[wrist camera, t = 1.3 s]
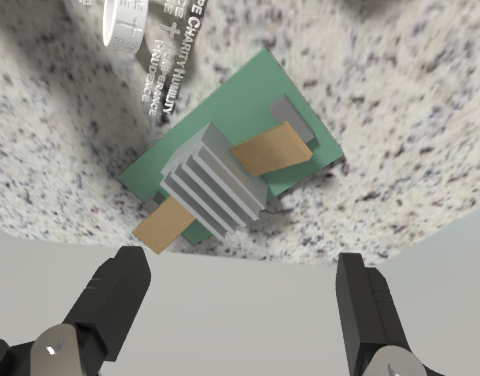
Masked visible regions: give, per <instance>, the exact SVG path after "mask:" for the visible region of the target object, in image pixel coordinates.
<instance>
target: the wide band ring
mask: <svg viewBox="0 0 480 376" xmlns="http://www.w3.org/2000/svg"><path fill="white" fill-rule="evenodd" d="M85 1H86V0H85ZM89 1H90V0H88V3H89V5H90V4H91V6H92V3H90V2H92V0H91V1H90V2H89ZM148 1H149V0H105V6H104V17H103V41H104V45H105V46H106V47H108V48H112V49H115V50H119V51H123V52H127V53H130V54H135V53H137V51H138V50H139V48H140V45H141V43H142V40H143V36H144V32H145V27H146V22H147V15H148ZM174 1H175V0H167V2H170V3H173V2H174ZM200 1H202V2H201V3H200ZM204 1H205V0H198V5H199V6H203V4H204ZM79 2H82V0H81V1H80V0H79ZM88 3H87V5H88ZM83 4H84V5H86V2H85V3H84V1H83ZM178 4H179V6H180V5H181V4H180V0H178ZM185 5H186V0H184V3H183V4H182V7H184V6H185ZM199 6H196V5H194V4H193V8H192V12H194V10H195V8H196V11H195V12H196V13H198V14H201V11H202V8H201V7H199ZM167 7H168V8H167ZM166 8H167V13H169V14H171V12H172V8H173V6H172V5H170V4H167V3H165V7H164V13H165V12H166ZM169 9H170V11H169ZM178 10H179V11H178ZM198 10H199V12H198ZM177 12H178V16H180V17H181V18H182V15H183V12H184V9H182V8H180V7H176V11H175V16H176V15H177ZM180 12H181V14H180ZM192 20H196V21H197V24H196V25H195V28H198V27H199V25H200V21H199V20H198V19H197V18H196V17H191V18H190V19H189V21H188V23H189V25H190V26H191V27H192V24H191V21H192ZM176 25H177V24H176V23H175V22H173V24H172V27H168V26H165V25H162V24H159V26H158V27H159V28H161V29H164V30H167V31H170V35H169V37H170V38H173V37H174V33H176V34H179V35H180V30H177V29H176ZM191 27H188V26H187V29H189V30H190V31H189V32H187V31H186V32H185V33H186V34H188V35H191V36H194V34H193V33H192V31H196V30H195V29H194V28H191ZM186 34H185V36H186V39H185V40H183V43H182V44H183V45H185V46H184V47H181V50H180V52H181V53H184V54H186V56H183V55H179V57H181V58H185V59H184V60H185V61H183V62H177V64H179V65H181V66H182V67H183V68H184V65H183V64H186V61H187V57H188V55H187V54H189V53H188V52H186V51H189V50H190V47H191V45H190V44H187V43H184V42H192V41H193V40H192V39H191V38H190V37H189V36H188V35H186ZM156 43H158V48H159V50H163V48H164V45H165V42H163V41H160V40H157V39H156ZM161 44H162V46H161V47H160V45H161ZM187 46H188V48H187ZM166 47H167V48H169V49H172V53H174V51H175V47H176V44H174V46H169V45H166ZM184 49H185V50H186V51H183V50H184ZM159 50H156V49H154V50H153V51H154V52H156V53H154V54H152V57H155V56H156V57H157V58H159V57H160V53H161V51H159ZM157 54H158V55H157ZM166 54H167V59H168V57H169V60H167V59H164V58H165V57H166ZM171 56H172V54H171V53H170V52H167V51H165V53H164V58H163V61H162V64H163V65H161V67H163V68H161V70H162V74H163V75H164V76H163V75H159V76H158V81H159V80H160V81H161V82H158V81H157V84H159V85H157V86H156V88H155V90H156V93H154V96H153V97H154V98H155V99H153V100H152V102H154V103H152V104H151V108H152V109H150V111H149V115H150V114H152V115H153V113H154V116H155V114H156V109H157V107H158V106H157V104H156V103H159V102H158V101H157V100H159V99H160V97H158V96H157V95H161V91H159V90H158V89H157V88H159V89H162V88H163V85H164V83H162V79H163V82H164V81H165V78H166V77H165V75H166V74H167V69H168V67H169V66H168V65H167V64H169V63H170V59H171ZM157 58H152V59H151V64H152V65H154V66H151V65H150V67H149V71H150V73H148V75H147V80H146V82H147V84H145V87H148V88H145V89H144V94H145V95H144V94H143V96H142V101H143V100H144V97H145V101H146V99H147V102H148V101H149V95H150V93H151V90H150V88H152V86H151V85H152V84H153V82H152V81H154V77H155V75H154V73H155V72H156V69H157V67H155V66H157V63H153V61H159V60H158V59H157ZM151 68H152V69H154V71H151ZM165 68H167V69H165ZM164 71H165V73H164ZM175 72H178V75H176V74H173V76H174V77H177V78H172V83H173V84H170V85H171V86H170V89H169V92H168V93H169V94H168V95H167V99H166V102H170V103H171V104H167V103H165V106H170V109H167V110H166V109H163V111H164V112H167V113H168V114H169V115H170V112H169V111H171V110H172V107H173V103H174V101H172V100H168V99H169V97H173V98H175V95H176V93H177V90H176V89H178V85H179V83H177V82H174V80H176V81H180V79H178V78H181V79H183V76H180V74H181V73H183V74H185V71H183V70H179V69H175ZM151 73H152V74H151ZM149 76H150V80H151V79H152V81H149V80H148V79H149ZM160 78H161V79H160ZM174 84H175V85H174ZM160 86H161V87H160ZM146 90H149V92H148V95H146V92H145V91H146ZM173 92H174V93H173ZM170 94H171V95H170ZM153 105H156V107H155V108H154V109H155V110H153V107H152V106H153ZM151 112H152V113H151Z"/></svg>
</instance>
